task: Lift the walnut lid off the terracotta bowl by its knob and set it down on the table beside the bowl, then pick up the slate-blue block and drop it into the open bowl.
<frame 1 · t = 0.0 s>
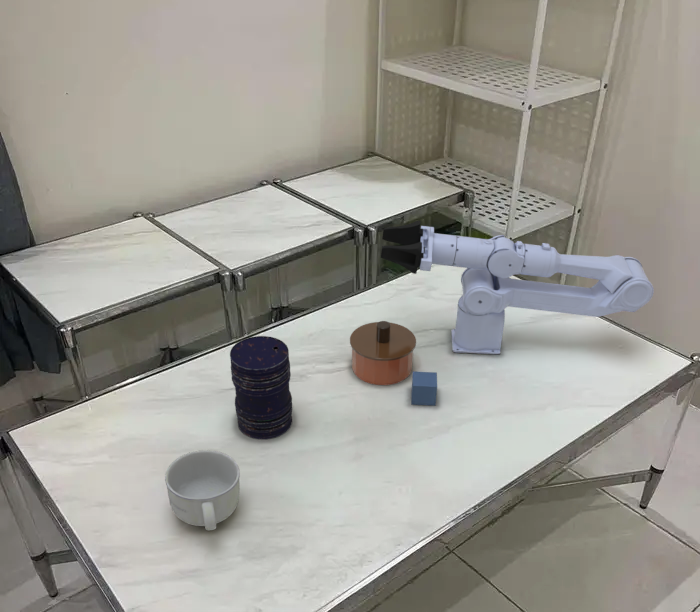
hand: (382, 242, 136), 22 cm above the table, tool horizontal, fingers open, 7 cm apart
storage jar: (265, 422, 128), on the table
teacup: (207, 518, 110), on the table
block: (423, 397, 133), on the table
bowl: (381, 367, 141), on the table
lid: (382, 341, 137), point 6 cm above the table, touching bowl
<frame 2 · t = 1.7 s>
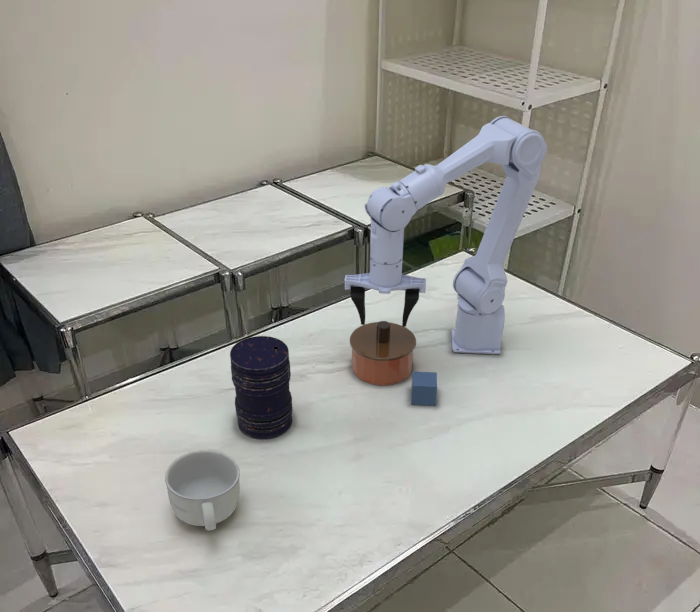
hand: (383, 322, 135), 10 cm above the table, tool pointing down, fingers open, 7 cm apart
nothing on the table moved.
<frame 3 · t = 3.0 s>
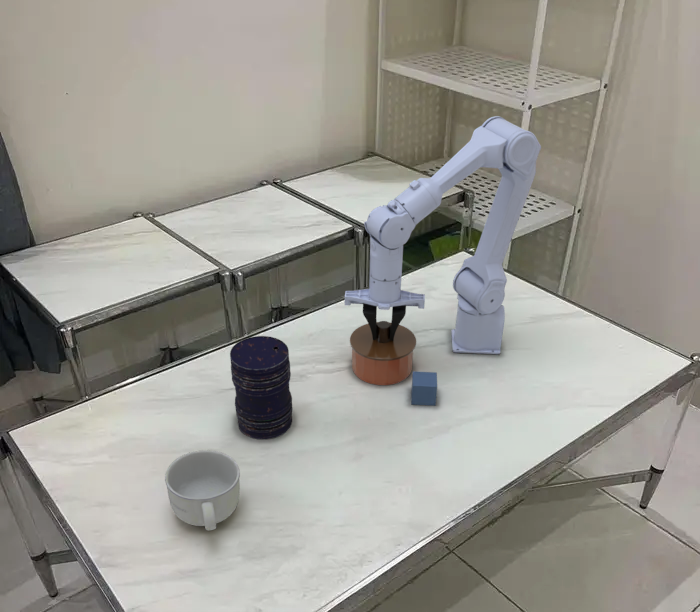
hand: (383, 337, 137), 7 cm above the table, tool pointing down, fingers closed on lid, 2 cm apart
lid: (383, 341, 137), point 6 cm above the table, touching bowl, gripper
everything else where it was.
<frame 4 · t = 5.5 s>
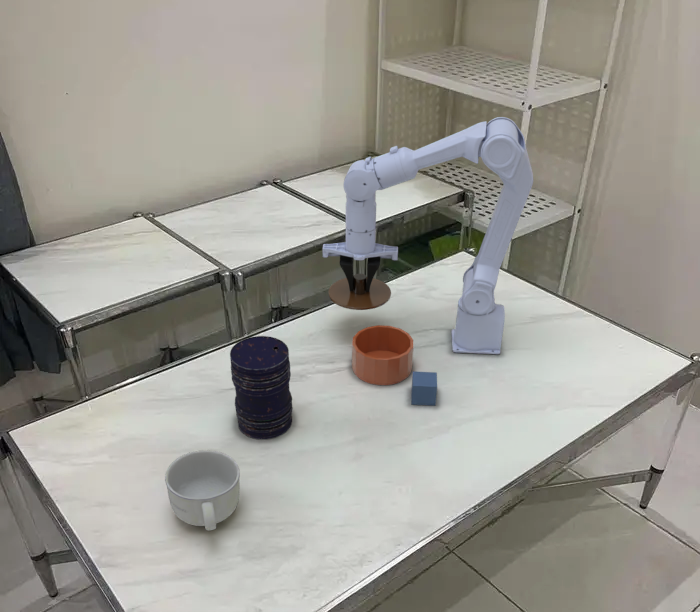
hand: (359, 289, 145), 10 cm above the table, tool pointing down, fingers closed on lid, 2 cm apart
lid: (359, 293, 145), point 9 cm above the table, touching gripper
everything else where it was.
when the fingers open (2 cm above the table, at t = 7.9 s): lid stays where it is, point 1 cm above the table.
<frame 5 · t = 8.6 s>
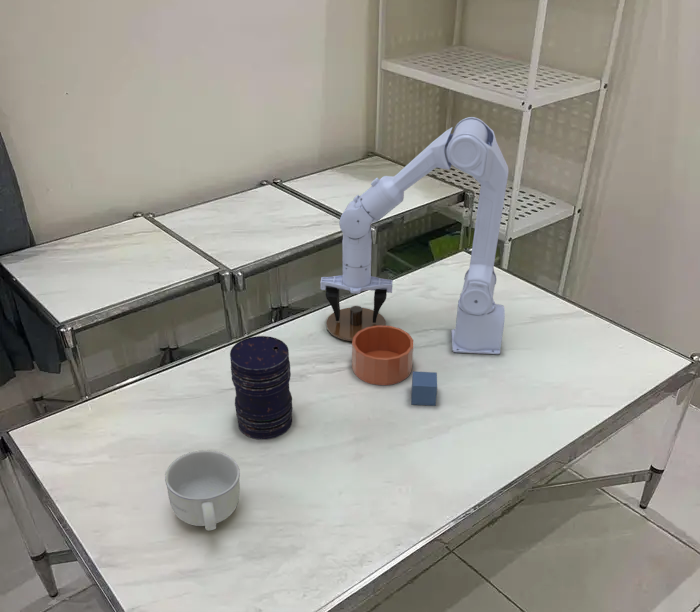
hand: (356, 319, 151), 2 cm above the table, tool pointing down, fingers open, 7 cm apart
lid: (356, 324, 152), point 1 cm above the table
everything else where it was.
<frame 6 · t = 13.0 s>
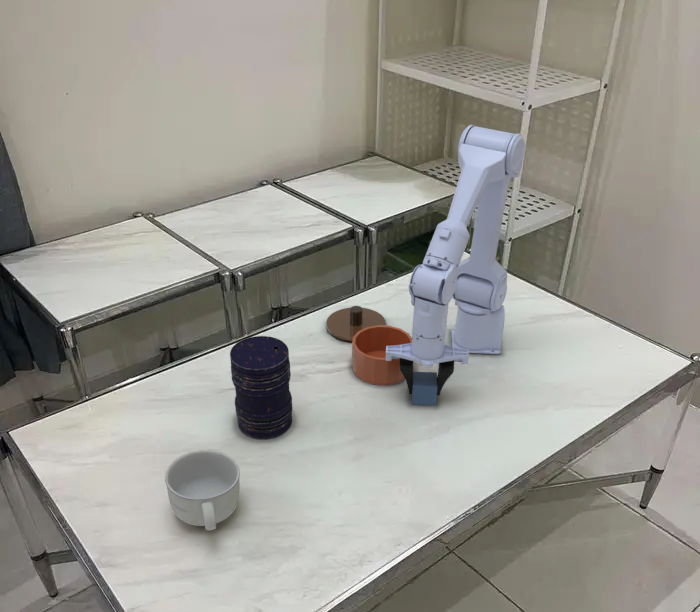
hand: (423, 391, 133), 1 cm above the table, tool pointing down, fingers closed on block, 4 cm apart
block: (423, 397, 133), on the table, touching gripper
everything else where it was.
when the fingers open (3 cm above the table, at t = 18.0 s): block drops 1 cm, resting on bowl.
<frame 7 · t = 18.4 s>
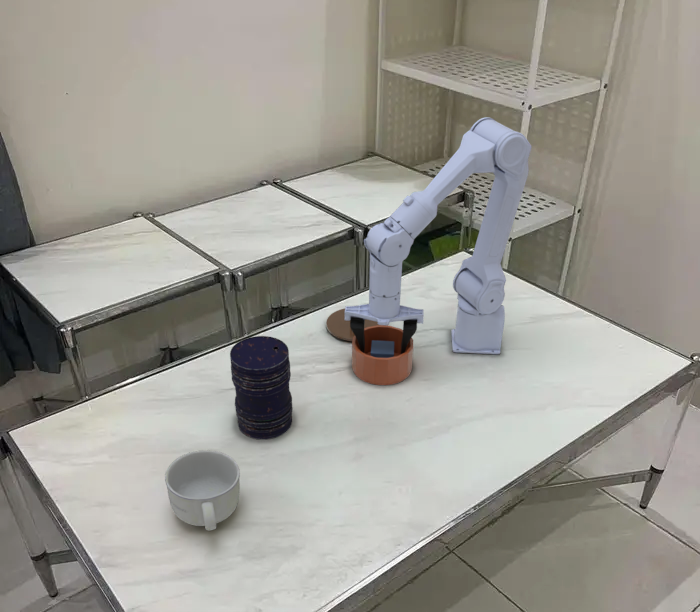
hand: (382, 351, 139), 4 cm above the table, tool pointing down, fingers open, 7 cm apart
block: (381, 365, 141), resting on bowl
everything else where it was.
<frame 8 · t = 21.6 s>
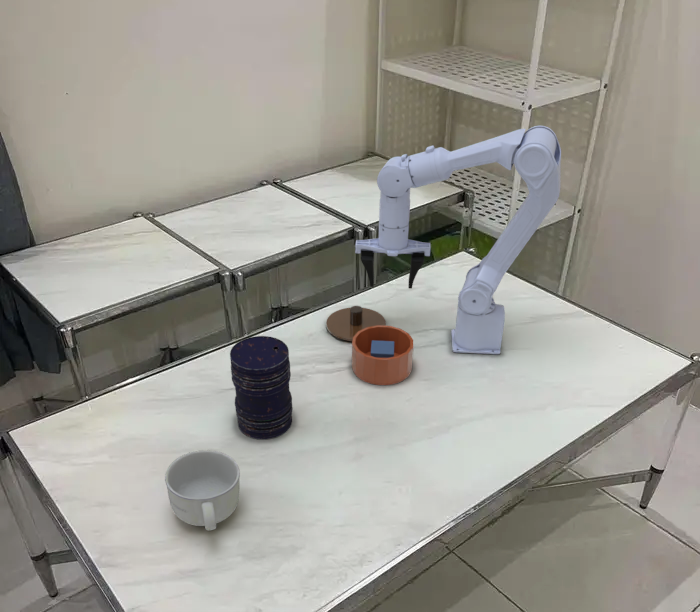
hand: (391, 285, 146), 10 cm above the table, tool pointing down, fingers open, 7 cm apart
nothing on the table moved.
at the end: lid inside the target area (0.0 cm from its centre), point 0.6 cm above the table; block inside the target area in the bowl (0.0 cm from its centre), point 0.4 cm above the bowl's base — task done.
